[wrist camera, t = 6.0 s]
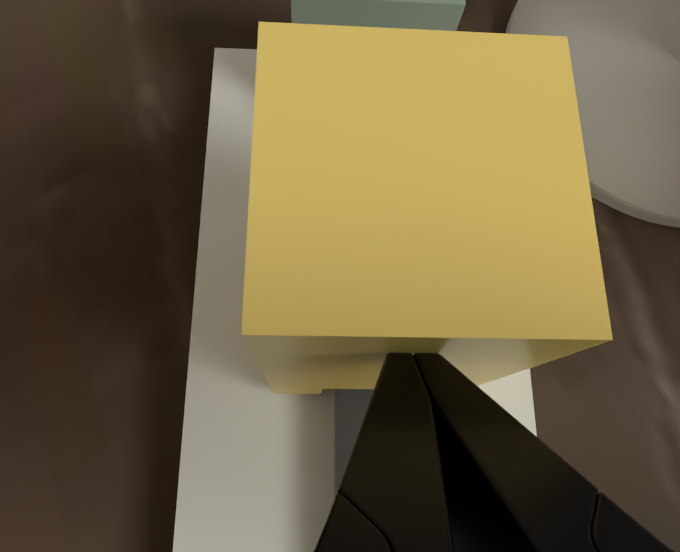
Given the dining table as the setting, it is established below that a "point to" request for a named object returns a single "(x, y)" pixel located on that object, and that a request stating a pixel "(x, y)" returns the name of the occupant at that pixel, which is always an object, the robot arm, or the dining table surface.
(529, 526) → the robot arm
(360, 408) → the white slide rail base
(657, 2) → the candlestick
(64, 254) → the dining table surface
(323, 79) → the yellow sliding block
